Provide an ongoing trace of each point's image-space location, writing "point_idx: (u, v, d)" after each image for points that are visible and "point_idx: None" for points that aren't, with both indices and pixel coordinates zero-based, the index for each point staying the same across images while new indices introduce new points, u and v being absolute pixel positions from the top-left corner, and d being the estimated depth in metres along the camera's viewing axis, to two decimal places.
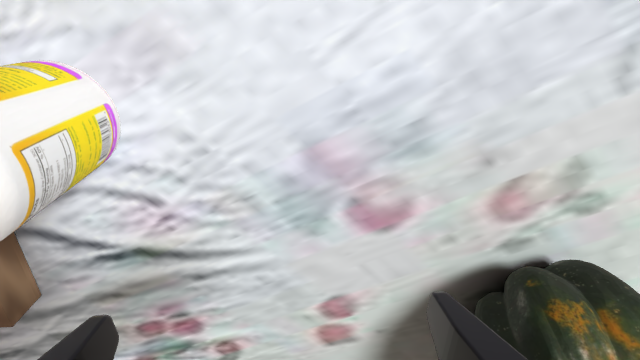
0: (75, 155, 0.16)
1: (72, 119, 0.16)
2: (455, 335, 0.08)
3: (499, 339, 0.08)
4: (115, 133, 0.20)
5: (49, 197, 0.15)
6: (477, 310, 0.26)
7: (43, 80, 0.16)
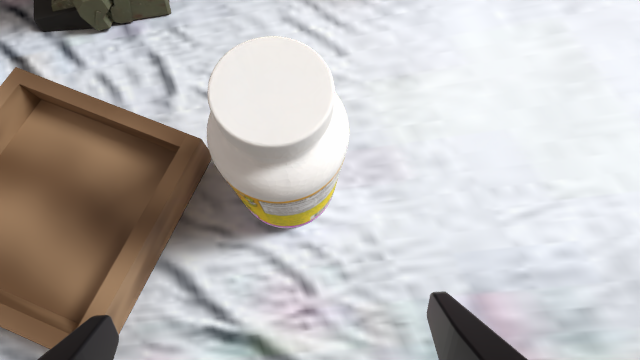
0: (332, 188, 0.19)
1: None
2: (455, 335, 0.08)
3: (499, 339, 0.08)
4: (326, 206, 0.23)
5: (317, 197, 0.17)
6: None
7: None
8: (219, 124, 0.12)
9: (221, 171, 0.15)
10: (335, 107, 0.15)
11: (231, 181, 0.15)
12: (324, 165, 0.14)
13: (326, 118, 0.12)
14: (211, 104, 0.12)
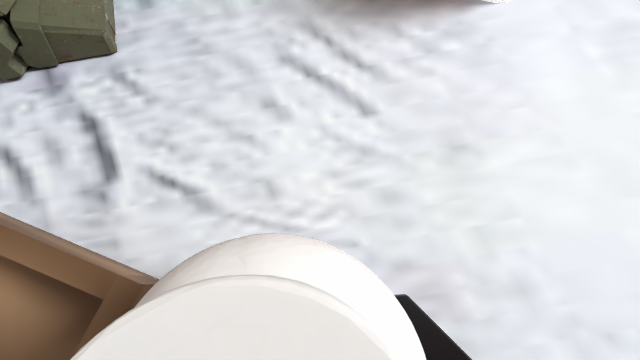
0: None
1: None
2: None
3: (451, 343, 0.08)
4: None
5: None
6: None
7: None
8: None
9: None
10: None
11: None
12: None
13: None
14: None
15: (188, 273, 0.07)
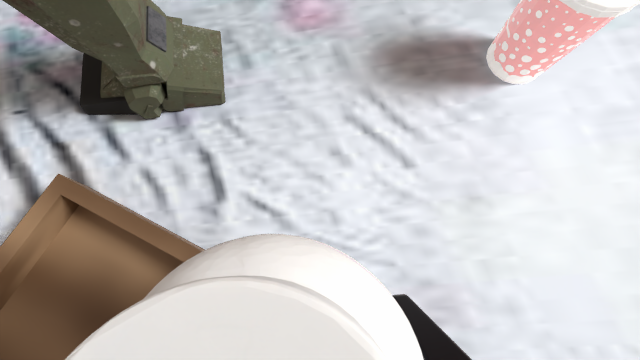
0: None
1: None
2: None
3: (451, 343, 0.08)
4: None
5: None
6: None
7: None
8: None
9: None
10: None
11: None
12: None
13: None
14: None
15: (187, 273, 0.07)
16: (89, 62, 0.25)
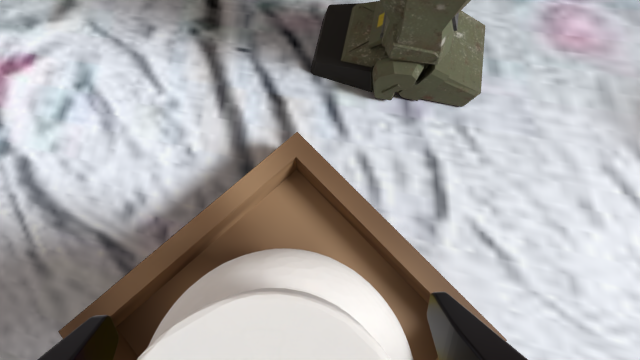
0: None
1: None
2: (455, 335, 0.08)
3: (499, 339, 0.08)
4: None
5: None
6: None
7: None
8: None
9: None
10: None
11: None
12: None
13: None
14: None
15: (213, 284, 0.08)
16: (333, 18, 0.22)
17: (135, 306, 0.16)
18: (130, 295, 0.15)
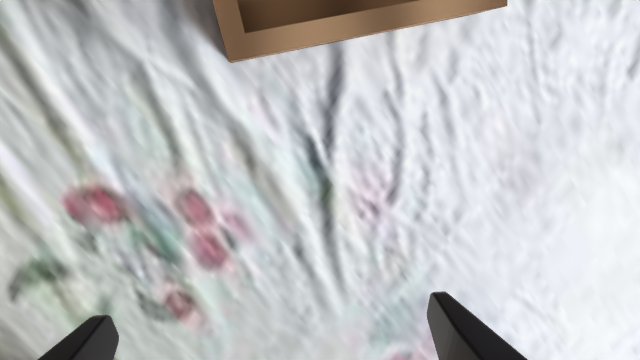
0: None
1: None
2: (455, 335, 0.08)
3: (499, 339, 0.08)
4: None
5: None
6: None
7: None
8: None
9: None
10: None
11: None
12: None
13: None
14: None
15: None
16: None
17: None
18: None
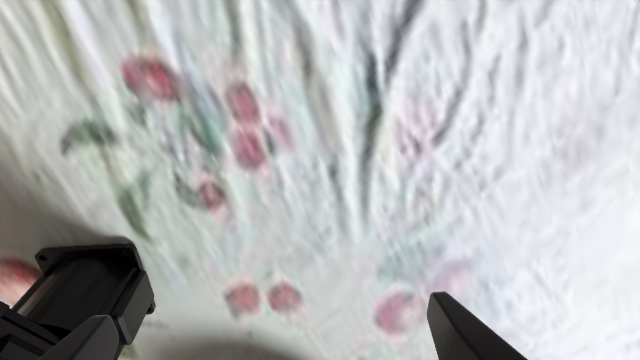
0: None
1: None
2: (455, 335, 0.08)
3: (499, 339, 0.08)
4: None
5: None
6: None
7: None
8: None
9: None
10: None
11: None
12: None
13: None
14: None
15: None
16: None
17: None
18: None
